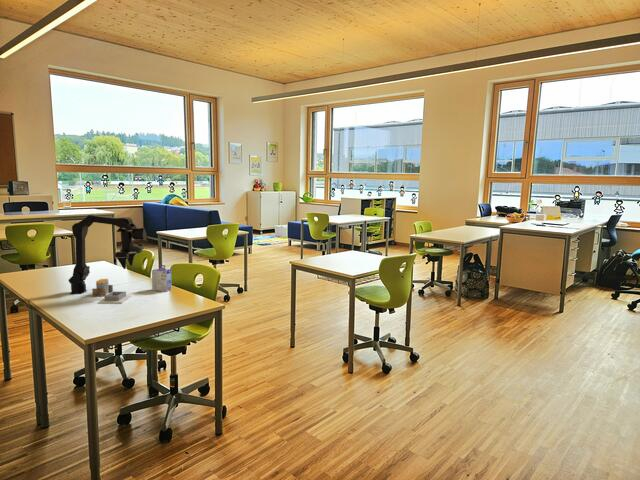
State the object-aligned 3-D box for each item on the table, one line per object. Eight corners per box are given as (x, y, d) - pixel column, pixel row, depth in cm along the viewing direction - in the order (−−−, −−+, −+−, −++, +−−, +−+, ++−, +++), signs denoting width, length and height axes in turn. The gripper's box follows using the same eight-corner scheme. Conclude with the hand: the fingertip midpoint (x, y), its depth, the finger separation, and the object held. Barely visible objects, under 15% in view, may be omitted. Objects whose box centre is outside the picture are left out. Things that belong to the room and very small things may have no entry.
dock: (98, 303, 228) (97, 297, 228) (110, 296, 242) (109, 290, 242) (121, 303, 229) (121, 297, 228) (132, 296, 243) (131, 290, 242)
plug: (96, 295, 244) (96, 281, 243) (101, 292, 250) (101, 278, 249) (104, 295, 244) (103, 281, 243) (109, 292, 250) (108, 278, 249)
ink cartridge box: (172, 289, 259) (171, 265, 257) (167, 291, 253) (166, 267, 251) (157, 288, 261) (156, 264, 259) (151, 290, 255) (150, 266, 253)
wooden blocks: (92, 296, 242) (92, 289, 242) (100, 291, 252) (100, 284, 251) (105, 296, 242) (105, 289, 242) (113, 291, 252) (112, 284, 251)
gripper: (134, 242, 237) (136, 270, 239) (147, 237, 256) (148, 264, 258) (113, 242, 237) (115, 270, 239) (127, 237, 255) (129, 264, 257)
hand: (127, 267), depth 248 cm, fingers open, 9 cm apart
